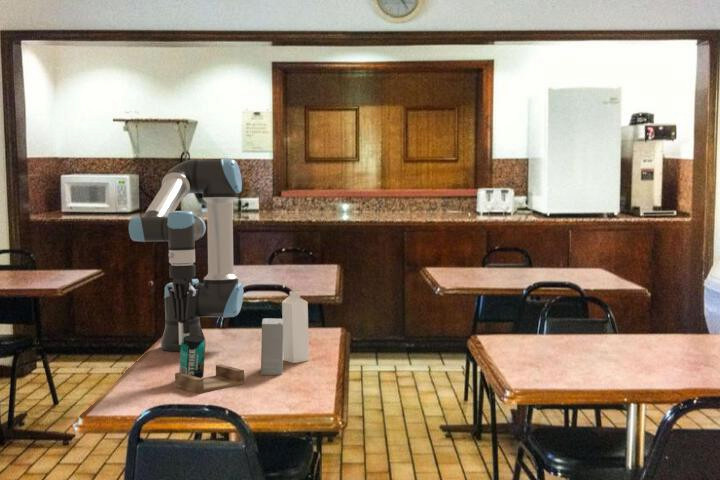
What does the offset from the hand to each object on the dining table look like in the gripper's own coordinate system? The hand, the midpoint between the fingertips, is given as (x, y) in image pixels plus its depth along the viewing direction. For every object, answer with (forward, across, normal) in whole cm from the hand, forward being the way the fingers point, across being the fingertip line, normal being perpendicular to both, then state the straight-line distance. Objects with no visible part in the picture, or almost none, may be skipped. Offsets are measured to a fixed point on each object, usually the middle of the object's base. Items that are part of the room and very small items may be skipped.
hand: (184, 344), depth 255 cm
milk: (+10, +6, +37) cm, 39 cm away
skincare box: (+10, +13, +22) cm, 28 cm away
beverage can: (+10, +2, 0) cm, 10 cm away
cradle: (+10, +12, 0) cm, 16 cm away
